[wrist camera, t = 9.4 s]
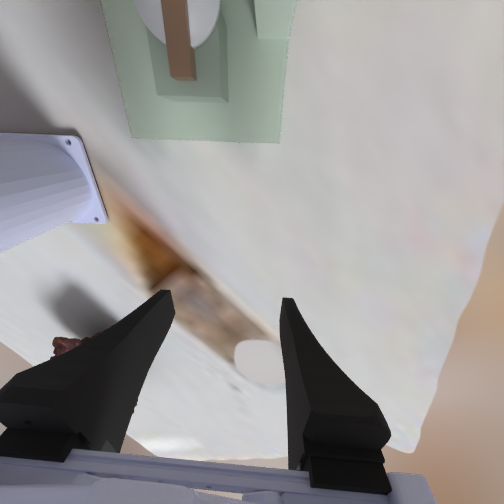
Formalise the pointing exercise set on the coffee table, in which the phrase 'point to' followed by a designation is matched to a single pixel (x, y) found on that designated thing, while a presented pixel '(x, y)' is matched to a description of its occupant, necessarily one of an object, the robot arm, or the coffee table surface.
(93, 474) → the robot arm
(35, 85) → the coffee table surface
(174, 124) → the mint green baseplate
